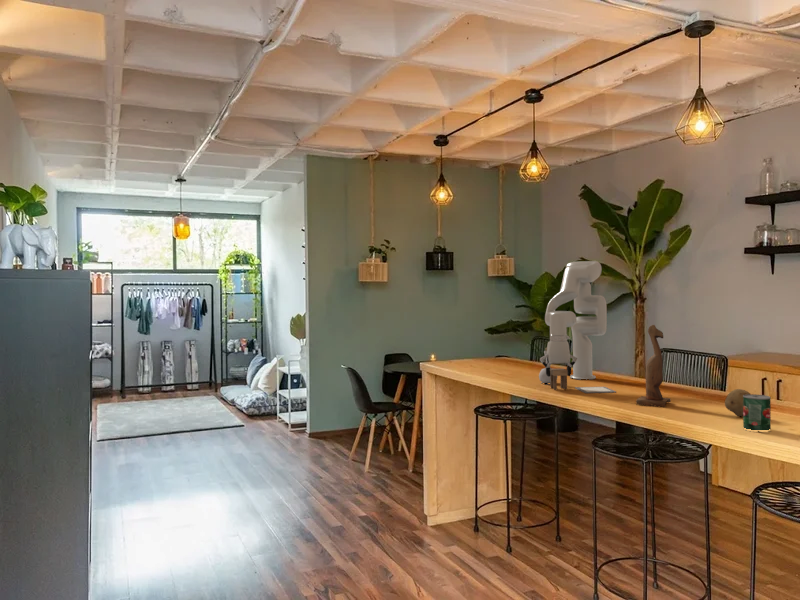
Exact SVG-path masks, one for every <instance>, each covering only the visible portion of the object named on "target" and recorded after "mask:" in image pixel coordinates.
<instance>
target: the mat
mask: <svg viewBox="0 0 800 600" xmlns="http://www.w3.org/2000/svg"><path fill="white" fill-rule="evenodd" d="M574 388H575V390H578V391H580V392H582V393H584V394H609V393H614V392H615V393H617V391H615V390H613V389H612V388H608V387H606V386H575V387H574ZM615 393H614V394H615Z"/></svg>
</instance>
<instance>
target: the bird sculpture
mask: <svg viewBox="0 0 800 600" xmlns="http://www.w3.org/2000/svg"><path fill="white" fill-rule="evenodd" d="M647 332H648V335H649V338H650V341H651V345H652V348H653V355H651V356H650V357H649V358H648V359H647V361H646V364H645V395H644V396H642V395H641V396H640V397H638V398H636V401H635V403H636V405H639V406H643V405H644V406H646V407H649V406H650V407H654V406H657V407H658V406H660V407H659V408H665V407H666V402H667V403H669V402H671V400H672V399H671V397H663V394H662V392H661V389H660V385H662V383H663V380H664V374H663V373H664V371H663V370H664V369H663V367H664V366H663V363H664V362H663V353H662V350H661V348H660V344H659V341H658V338H660V339H664V332H663V331H661V330H659V329H658V328H657V327H656V325H655V324H651V325H649V327H648V330H647Z"/></svg>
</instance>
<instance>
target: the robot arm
mask: <svg viewBox="0 0 800 600" xmlns="http://www.w3.org/2000/svg"><path fill="white" fill-rule="evenodd" d="M602 268H603V267H602V265H601V263H600V262H599V261H597V260H589V261H588V260H585V261H571V262H568V263H567V264H566V266H565V269H564V272H563V275H562V276H563V277H562V280H561V281H562V282H561V285H560V289H559V292H558V293H556V294H555V295H554V296H552V298H551V299H550V300H549V302H548V303H547V306H546V309H545V310H546V311H545V314H544V322H545V324H546V325H547V326H548V327H549V341H548V342H547V346H546V348H547V354H546V355H545V354H544V355H543V356H542V357H540V358H539V360H540V363H541V364H542V365H543V366H544V368H546V375H547V376H548V377H550V368H551V366H552V365H553V364H565V365H566V370H568V376H567V377H569V378H570V379H572V378H573V380H581V379H586V381H587V379H589V380H595V379H596V378H597V377H596V375H593V343H592V341H591V339H590V338H589V336H592V337H593V336H595V337H596V336H598V337H599V336H604V335H605V334H606V332H607V327H608V326H607V325H608V323H607V314H608V313H607V301H606V298H605V297H604V296H603V295H599V294H598V295H597V294H596V295H595V294H594V295H593V294H592V286H591V285H592V284H591V283H593V282H595V281H596V280H597V279H598V278H600V276H601V275H602ZM571 301H573V309H574V312H575V313H574V312H573V311H570V310H568V311H567V310H556V309H558V307H560V306H562V305H564V304H566V303H569V302H571ZM576 314H579V315H580V314H581V315H595V316H576ZM567 328H571V333H572V334H571V335H572V354H571V352H570V345H569V341H568V340H571V338H570V336H569V335H568V334H567V330H568V329H567ZM571 359H572V361H571ZM546 360H547V363H546ZM549 367H550V368H549ZM572 370H573V371H572ZM572 373H573V374H572Z"/></svg>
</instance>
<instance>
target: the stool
mask: <svg viewBox="0 0 800 600" xmlns="http://www.w3.org/2000/svg"><path fill="white" fill-rule="evenodd" d="M558 376H560V388H561V389H563V390H564V389H567V390H568V377H569V376H568V370H567V368H566V369H565V368H552V369H550V384H549V386H550V387H551V388H550V389H554V391H557V390H558V389H557V388H558V386H557V385H558V384H557V382H558V381H557V380H558ZM556 389H557V390H556Z"/></svg>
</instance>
